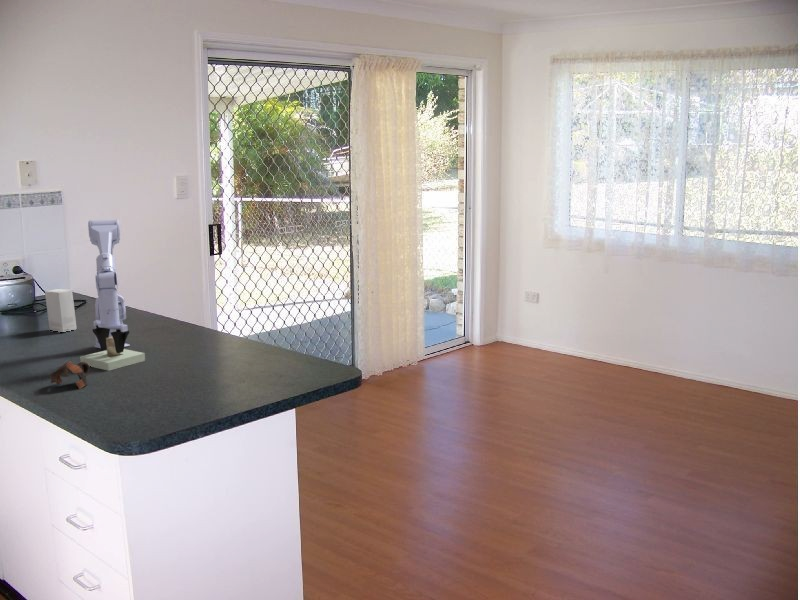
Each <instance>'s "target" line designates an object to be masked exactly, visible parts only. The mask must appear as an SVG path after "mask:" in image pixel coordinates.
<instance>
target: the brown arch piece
mask: <svg viewBox="0 0 800 600" xmlns="http://www.w3.org/2000/svg"><path fill="white" fill-rule="evenodd" d="M82 368H83V369H82ZM68 370H69V371H70V372H71V373H72V374H73V375H77V376H78V380H77V382H75V385H76V386H77V387H78V390H81V389H83V388H84V387H86V386H88V384H89V383H88V380H87V377H88V374H89V372H90V366H89V365H88V364H87V363H86V362H81V361H80V362H79V363H77V364H73V362H72V360H71V361H68V362H66V363H64V364H63V365H61V366H60V367H58V368H57V369H56V370H55V371H52V372H51V373H50V374H49V375H48V377H49V378H50V384H53V383H56V384H57V385H58V384H60V383H61V384H62V382H63V380H62V378H67V377H69V374H68ZM61 384H60V385H61Z"/></svg>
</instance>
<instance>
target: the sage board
mask: <svg viewBox="0 0 800 600" xmlns="http://www.w3.org/2000/svg"><path fill="white" fill-rule="evenodd" d="M79 359H80V362H86V363H87V364H88V365H89V367H90V366H91V368H95V369H99V370H104V371H113V370H116V369H120V368H124V367H127V366H131V365H134V364H138V363H142V362H145V361H146V353H145V352H140V351H136V350H131V349H127V348H124V350H123V352H122V353H120V355H119V356H116V357H112V358H110V357H108V356H107V350H102V351H98V352H94V353H89V354H86V355H81V356H79Z"/></svg>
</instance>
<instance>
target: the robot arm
mask: <svg viewBox="0 0 800 600" xmlns="http://www.w3.org/2000/svg"><path fill="white" fill-rule="evenodd" d="M87 223H88V225H87V229H88V237H89V239H90V240H89V241H90V242H91V245H93V246H97V249H98V251H99V255H97V256H96V260H95V261H96V274H95V288H96V292H97V297H96V298H95V300H94V304H95V305H94V311H95V312H94V313H95V320H93V327H94V328H93V329H92V333H93V334H94V335H95V345H94V346H93V347H94V348H98V349H100V350H102V351H105V350H107V345H106V338H108V337H113V339H114V343H115V349H116V352H117V353H122V352H123V350H124V349H125V348H126V347H130V346H131V345H130V344H129V343H126V341H127V338H128V336H129V334H130V330H129V328H128V324H125V323H123V322H124V321H125V320H126V319H127V310H126V302H125V298H124V296H122V295H121V294H119V293H118V289H119V279H118V277H119V276H118V273H117V269H116V268H117V267H116V258H115V256H114V253H113V252H114V248H115V245H117V244H119V243H120V240H121V237H120V236H121V230H120V220H119V219H117V218H115V219H96V220H95V219H94V220H93V219H89V220H88V222H87Z"/></svg>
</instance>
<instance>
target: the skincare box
mask: <svg viewBox="0 0 800 600" xmlns="http://www.w3.org/2000/svg"><path fill="white" fill-rule="evenodd" d="M44 295H45V304H46V312H47V319H48V326H49V331H50V330H53V331H58V332H57V333H60V332H66V331H70V332H72V331H71V330H74V331H77V330H78V329H77V320H76V319H77V318H76V312H75V303H74V295H73V289H67V288H55V289H49V290H44ZM76 329H77V330H76ZM53 331H52V332H53ZM66 333H67V332H66Z"/></svg>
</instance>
